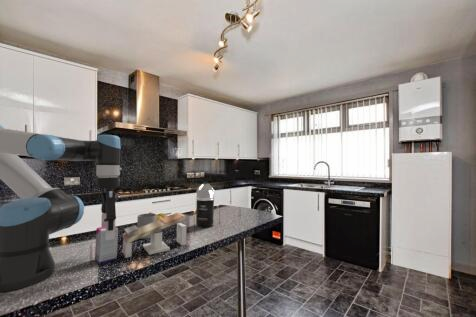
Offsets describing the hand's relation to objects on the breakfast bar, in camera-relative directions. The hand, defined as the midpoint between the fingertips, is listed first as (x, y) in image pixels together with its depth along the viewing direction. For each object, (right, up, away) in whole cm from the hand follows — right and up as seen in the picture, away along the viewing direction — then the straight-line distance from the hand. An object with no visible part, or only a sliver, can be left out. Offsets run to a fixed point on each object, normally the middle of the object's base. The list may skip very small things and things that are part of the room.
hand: (107, 234), depth 81 cm
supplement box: (-1, -9, 0) cm, 9 cm away
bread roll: (+4, -11, +43) cm, 45 cm away
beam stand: (+14, -9, +10) cm, 20 cm away
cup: (+3, -10, +26) cm, 28 cm away
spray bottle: (+29, -11, +45) cm, 55 cm away
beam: (+14, -1, +11) cm, 18 cm away
